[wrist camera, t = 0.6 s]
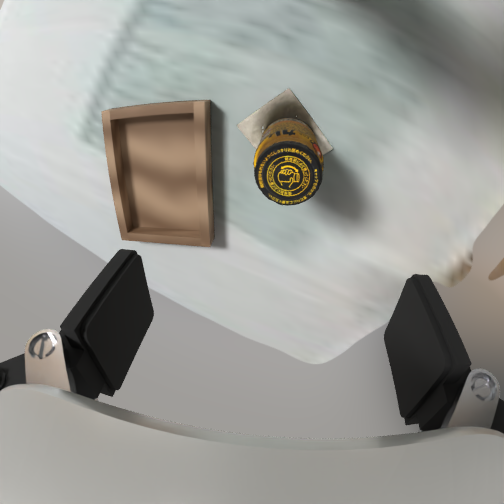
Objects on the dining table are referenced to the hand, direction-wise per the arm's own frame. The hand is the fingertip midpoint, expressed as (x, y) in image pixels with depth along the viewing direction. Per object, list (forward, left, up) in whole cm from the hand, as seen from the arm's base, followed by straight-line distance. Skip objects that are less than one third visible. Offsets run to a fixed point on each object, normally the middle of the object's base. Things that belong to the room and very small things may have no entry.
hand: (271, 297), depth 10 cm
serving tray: (+5, -15, -26) cm, 30 cm away
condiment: (0, 0, -26) cm, 26 cm away
